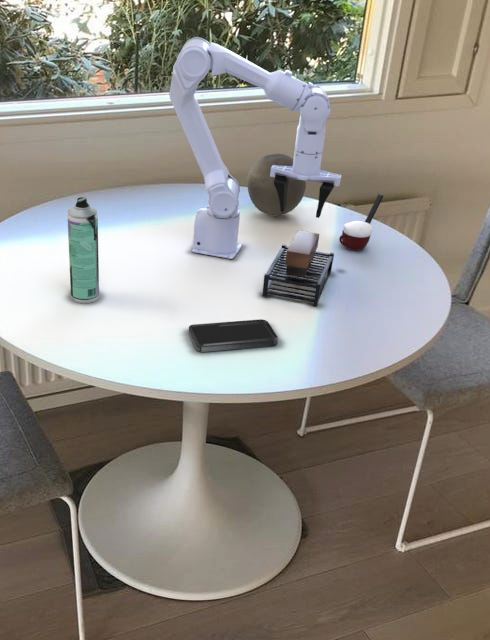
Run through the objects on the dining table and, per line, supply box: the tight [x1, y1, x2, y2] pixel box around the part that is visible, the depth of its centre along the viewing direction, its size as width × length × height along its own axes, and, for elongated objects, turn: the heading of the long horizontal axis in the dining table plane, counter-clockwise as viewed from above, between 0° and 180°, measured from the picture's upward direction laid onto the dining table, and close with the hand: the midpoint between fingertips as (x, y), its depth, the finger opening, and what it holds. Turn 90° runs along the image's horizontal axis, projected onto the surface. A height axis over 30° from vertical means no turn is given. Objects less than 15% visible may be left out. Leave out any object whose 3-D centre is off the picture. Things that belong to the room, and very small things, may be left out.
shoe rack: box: [261, 243, 335, 308], centre depth 156 cm, size 11×16×5 cm
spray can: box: [67, 196, 100, 304], centre depth 144 cm, size 6×6×20 cm
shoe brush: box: [285, 230, 320, 277], centre depth 154 cm, size 4×11×5 cm, turn 161°
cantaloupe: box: [246, 153, 307, 217], centre depth 185 cm, size 14×14×15 cm
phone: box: [188, 318, 279, 353], centre depth 138 cm, size 8×1×15 cm
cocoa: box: [338, 192, 384, 251], centre depth 171 cm, size 10×6×12 cm, turn 95°
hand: (300, 213), depth 164 cm, fingers open, 7 cm apart
